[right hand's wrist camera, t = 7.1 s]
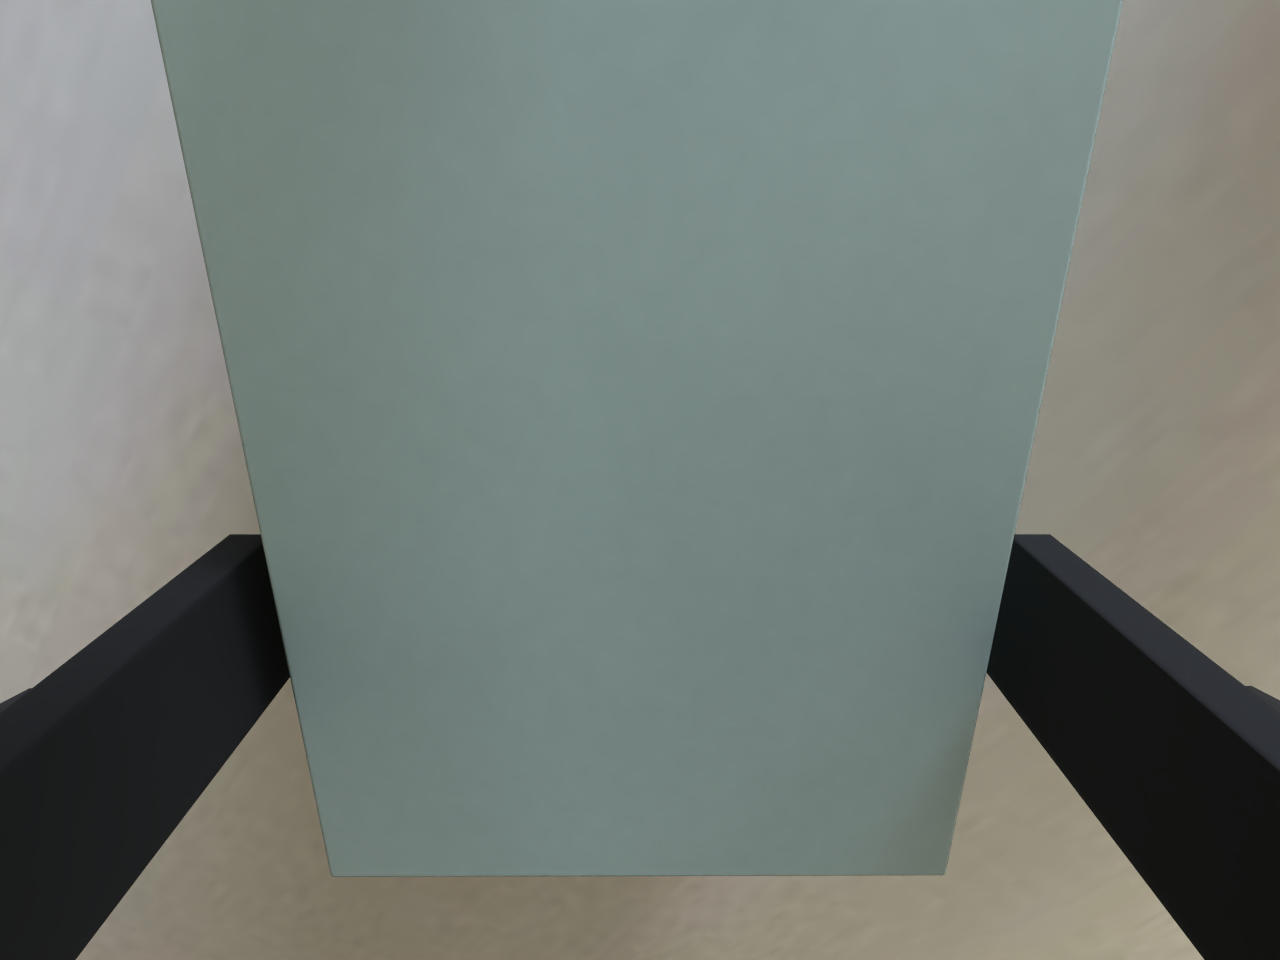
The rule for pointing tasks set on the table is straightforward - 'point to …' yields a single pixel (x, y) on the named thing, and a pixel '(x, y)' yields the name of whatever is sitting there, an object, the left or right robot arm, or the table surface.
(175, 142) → the table surface
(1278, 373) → the table surface
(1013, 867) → the table surface
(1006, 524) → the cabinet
